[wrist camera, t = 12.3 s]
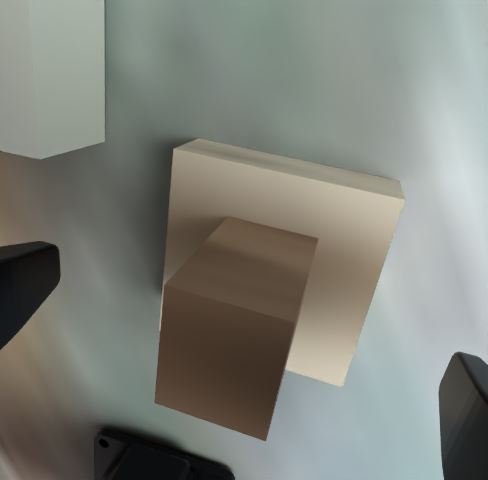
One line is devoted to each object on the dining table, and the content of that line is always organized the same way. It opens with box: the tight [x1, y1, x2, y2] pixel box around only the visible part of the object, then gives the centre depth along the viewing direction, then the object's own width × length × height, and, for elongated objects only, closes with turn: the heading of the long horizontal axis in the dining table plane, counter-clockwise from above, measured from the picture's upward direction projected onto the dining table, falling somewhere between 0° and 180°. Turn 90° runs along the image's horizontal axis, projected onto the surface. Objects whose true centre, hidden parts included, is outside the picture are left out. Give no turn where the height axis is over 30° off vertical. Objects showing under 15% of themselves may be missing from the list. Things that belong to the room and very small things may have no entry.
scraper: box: [155, 138, 405, 441], centre depth 11 cm, size 6×6×6 cm
